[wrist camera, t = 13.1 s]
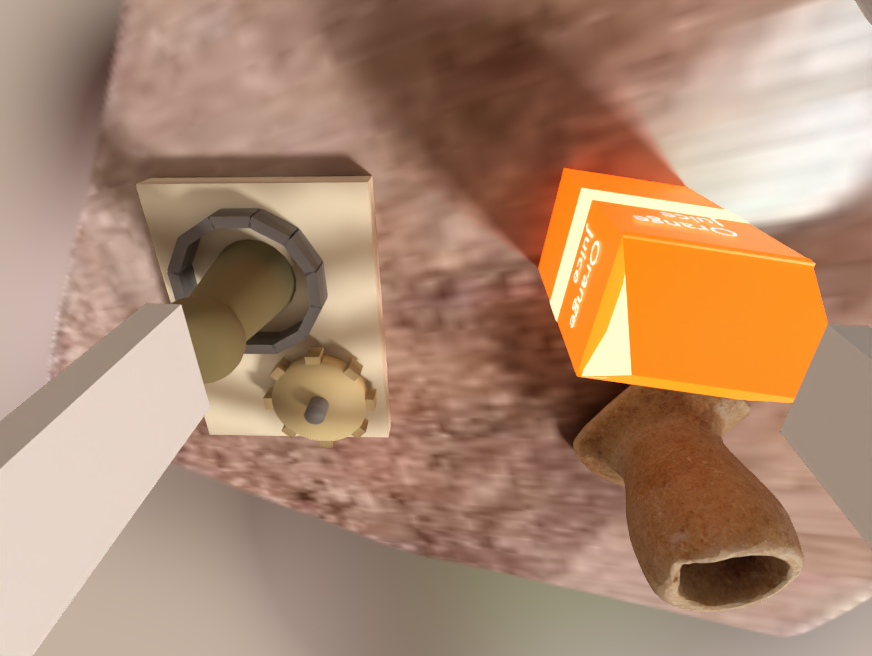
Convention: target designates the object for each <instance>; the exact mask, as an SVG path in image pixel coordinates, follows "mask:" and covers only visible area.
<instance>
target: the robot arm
mask: <svg viewBox="0 0 872 656" xmlns="http://www.w3.org/2000/svg"><path fill="white" fill-rule="evenodd" d="M855 1H856V3H857V5H858V6H859V8H860V9H861V11H862V13H863V14H864V16H865V17H866V19H867V20H868V21H869V22H870V23H871V24H872V0H855ZM209 408H210V405H209V402H208V398H207V394H206V391H205V387H204V384H203V380H202V377H201V373H200V369H199V366H198V362H197V359H196V355H195V352H194V348H193V344H192V341H191V337H190V334H189V330H188V327H187V323H186V320H185V316H184V312H183V309H182V305H181V304H154V303H146V304H145V305H143V306H142V307H141V308H140V309H139V310H137V311H136V312H135V313H134V314H132V315H131V316H130V317H129V318H127V319H126V320H125V321H124V322H122V323H121V324H120V325H119V326H117V327H116V328H115V329H114V330H113V331H111V332H110V333H109V334H108V335H106V336H105V337H104V338H103V339H101V340H100V341H99V342H98V343H96V344H95V345H94V346H93V347H92V348H90V349H89V350H88V351H87V352H85V353H84V354H83V355H82V356H80V357H79V358H78V359H77V360H75V361H74V362H73V363H72V364H70V365H69V366H68V367H67V368H66V369H64V370H63V371H62V372H61V373H59V374H58V375H57V376H56V377H54V378H53V379H52V380H51V381H49V382H48V383H47V384H46V385H45V386H43V387H42V388H41V389H40V390H38V391H37V392H36V393H35V394H33V395H32V396H31V397H30V398H29V399H27V400H26V401H25V402H23V403H22V404H21V405H20V406H19V407H17V408H16V409H15V410H14V411H12V412H11V413H10V414H9V415H7V416H6V417H5V418H4V419H2V420H1V421H0V656H33V654H34V653H35V652H36V650H37V649H38V647H39V646H40V645H41V643H42V642H43V640H44V639H45V638H46V636H47V635H48V633H49V632H50V631H51V629H52V628H53V626H54V625H55V623H56V622H57V621H58V619H59V618H60V617H61V615H62V614H63V612H64V611H65V610H66V608H67V607H68V605H69V604H70V603H71V601H72V600H73V598H74V597H75V595H76V594H77V593H78V591H79V590H80V589H81V587H82V586H83V584H84V583H85V582H86V580H87V579H88V577H89V576H90V574H91V573H92V572H93V570H94V569H95V568H96V566H97V565H98V563H99V562H100V561H101V559H102V558H103V556H104V555H105V553H106V552H107V551H108V549H109V548H110V547H111V545H112V544H113V542H114V541H115V540H116V538H117V537H118V535H119V534H120V533H121V531H122V530H123V528H124V527H125V526H126V524H127V523H128V521H129V520H130V519H131V517H132V516H133V514H134V513H135V512H136V510H137V509H138V507H139V506H140V505H141V503H142V502H143V500H144V499H145V498H146V496H147V495H148V493H149V492H150V491H151V489H152V488H153V486H154V485H155V483H156V482H157V481H158V479H159V478H160V477H161V475H162V474H163V473H164V471H165V470H166V468H167V467H168V466H169V464H170V463H171V461H172V460H173V459H174V457H175V456H176V454H177V453H178V452H179V450H180V449H181V447H182V446H183V445H184V443H185V442H186V440H187V439H188V438H189V436H190V435H191V433H192V432H193V431H194V429H195V428H196V426H197V425H198V424H199V422H200V421H201V419H202V418H203V417H204V415H205V414H206V412H207V411H208V410H209ZM780 432H781V433H782V435H783V436H784V437H785V439H786V440H787V441H788V442H789V444H790V445H791V446H792V447H793V449H794V450H795V451H796V453H797V454H798V455H799V456H800V458H801V459H802V460H803V462H804V463H805V464H806V465H807V467H808V468H809V469H810V471H811V472H812V473H813V474H814V476H815V477H816V478H817V480H818V481H819V482H820V483H821V485H822V486H823V487H824V489H825V490H826V491H827V492H828V494H829V495H830V496H831V498H832V499H833V500H834V501H835V503H836V504H837V505H838V507H839V508H840V509H841V510H842V512H843V513H844V514H845V516H846V517H847V518H848V519H849V521H850V522H851V523H852V524H853V526H854V527H855V528H856V530H857V531H858V532H859V533H860V535H861V536H862V537H863V539H864V540H865V541H866V542H867V544H868V545H869V546H870V548H871V549H872V328H871V327H869V326H867V325H834V324H827V326H826V329H825V331H824V333H823V336H822V338H821V340H820V342H819V345H818V347H817V349H816V351H815V354H814V356H813V358H812V360H811V363H810V365H809V367H808V369H807V372H806V374H805V376H804V378H803V381H802V383H801V385H800V388H799V390H798V392H797V394H796V397H795V399H794V401H793V403H792V406H791V408H790V410H789V412H788V415H787V417H786V419H785V421H784V424H783V426H782V428H781V430H780Z"/></svg>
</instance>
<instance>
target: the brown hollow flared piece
mask: <svg viewBox="0 0 872 656" xmlns="http://www.w3.org/2000/svg"><path fill="white" fill-rule="evenodd" d="M751 411H752V410H751V406H750V405H749V404H748V403H747V401H746V400H739V399H732V398H725V397H718V396H711V395H704V394H697V393H690V392H683V391H675V390H668V389H661V388H654V387H647V386H640V385H633V384H631V385H630V386H629V387H628V388H626V389H625V390H624V391H623V392H622V393H620V394H619V395H618V396H617V397H616V398H615V399H613V400H612V401H611V402H610V403H609V404H608V405H607V406H606V407H604V408H603V409H602V410H601V411H600V412H599V413H598V414H597V415H596V416H595V417H594V418H593V419H592V420H591V421H589V422H588V423H587V424H586V425H585V426H584V427H583V428H582V430H581V431H580V432H579V434H578V435H577V437H576V438H575V440H574V442H573V449H574V452H575V454H576V456H577V457H578V458H579V459H580V461H581V462H582V463H583V464H584V465H585V466H586V467H587V468H588V469H590V470H591V471H592V472H593V473H595V474H596V475H598V476H600V477H601V478H603V479H605V480H608V481H610V482H613V483H616V484H620V485H624V486H625V489H626V518H627V524H628V530H629V535H630V540H631V543H632V546H633V549H634V552H635V554H636V557H637V559H638V562H639V564H640V566H641V569H642V571H643V573H644V575H645V577H646V579H647V581H648V583H649V585H650V586H651V588H652V590H653V591H654V593H655V594H657V595H658V596H659V597H660V598H661V599H662V600H664V601H665V602H667V603H669V604H671V605H673V606H675V607H678V608H682V609H686V610H691V611H700V612H715V611H725V610H733V609H738V608H743V607H747V606H750V605H753V604H755V603H758V602H761V601H763V600H765V599H767V598H769V597H771V596H773V595H775V594H776V593H778V592H780V591H782V590H783V589H785V588H786V587H787V586H788V585H789V584H791V583H792V582H793V581H794V580H795V579H796V578H797V577H798V575H799V574H800V572H801V570H802V566H803V562H804V555H803V552H802V549H801V545H800V542H799V539H798V536H797V534H796V531H795V529H794V527H793V524H792V522H791V520H790V517H789V515H788V513H787V512H786V510H785V509H784V507H783V506H782V504H781V503H780V502H779V500H778V499H777V498H776V497H775V496H774V495H773V494H772V493H771V492H770V491H769V490H768V489H767V488H766V486H765V485H764V484H763V483H762V482H761V481H759V480H758V478H757V477H756V476H755V475H754V474H753V473H752V472H751V471H749V470H748V469H747V468H746V467H745V466H744V465H743V464H742V463H741V462H740V461H739V460H738V459H737V458H736V457H735V456H734V455H733V454H732V453H731V452H730V451H729V449H728V448H727V447H726V446H725V445H724V443H723V440H722V436H723V435H724V434H725V433H726V432H727V431H728V430H730V429H731V428H732V427H733V426H735V425H736V424H737V423H739V422H740V421H741V420H743V419H744V418H745V417H747V416H748V415H749V414H750V413H751Z"/></svg>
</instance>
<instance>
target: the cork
mask: <svg viewBox="0 0 872 656" xmlns="http://www.w3.org/2000/svg"><path fill="white" fill-rule="evenodd" d="M295 291H296V278H295V274H294V271H293V268H292V266H291V265H290V263H289V262H288V260H287V259H286V257H285V256H284V255H283V254H281V253H280V252H279V251H278V250H277V249H276V248H274V247H272V246H270V245H268V244H266V243H264V242H262V241H256V240H249V239H247V240H241V241H235V242H234V243H232V244H230V245H228V246H226V247H225V248H224V249H223V251H222V252H221V253H220V254H219V255H218V257H217V258H216V260H215V261H214V262H213V264H212V265H211V267H210V268H209V269H208V271H207V272H206V273H205V275H204V276H203V278H202V279H201V280H200V282H199V283H198V285H197V286H196V287H195V289H194V290H193V292H192V293H191V294H190V296H189V297H185V298H181V299H178V300H176V301H174V302H172V303H170V304H181V305H182V309H183V312H184V316H185V320H186V323H187V327H188V330H189V334H190V337H191V341H192V344H193V348H194V352H195V355H196V359H197V362H198V366H199V369H200V373H201V377H202V380H203V384H206V383H214V382H216V381H218V380H221V379H223V378H225V377H226V376H228V375H229V374H230V373H231V372H232V371H233V370H234V369H235V368H236V367H237V366H238V365H239V363H240V362H241V360H242V357H243V354H244V352H245V348H246V341H247V340H249V339H250V338H251V337H252V336H253V335H254V334H256V333H257V332H258V331H259V330H260V329H261V328H262V327H264V326H265V325H266V324H267V323H268V322H269V321H270V320H272V319H273V318H274V317H275V316H276V315H277V314H278V313H280V312H281V311H282V310H283V309H284V308H285V307H286V306H287V305H288V304H289V303H290V302H291V301H292V299H293V296H294V294H295Z"/></svg>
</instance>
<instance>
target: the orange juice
mask: <svg viewBox="0 0 872 656" xmlns="http://www.w3.org/2000/svg"><path fill="white" fill-rule="evenodd" d="M814 266H815V263H814V262H812V261H811V259H807V258H805V257H804V256H802V255H800V254H799V253H797V252H795V251H794V250H792V249H790V248H789V247H787V246H785V245H784V244H782V243H780V242H779V241H777V240H775V239H773V238H772V237H770V236H768V235H767V234H765V233H763V232H762V231H760V230H758V229H757V228H755V227H753V226H752V225H750V224H749V222H747V221H745V220H743V219H742V218H740V217H738V216H737V215H735V214H733V213H732V212H730V211H728V210H725V209H723V208H721V207H720V206H718V205H716V204H715V203H713V202H711V201H710V200H708V199H706V198H705V197H703V196H701V195H700V194H698V193H696V192H695V191H693V190H691V189H689V188H688V187H684V186H678V185H671V184H665V183H658V182H652V181H645V180H639V179H632V178H626V177H619V176H613V175H606V174H600V173H593V172H587V171H580V170H574V169H567V168H564V169H563V173H562V177H561V181H560V185H559V189H558V193H557V197H556V201H555V205H554V209H553V213H552V216H551V220H550V224H549V228H548V232H547V236H546V240H545V244H544V248H543V252H542V256H541V260H540V264H539V268H538V269H539V272H540V274H541V277H542V280H543V283H544V286H545V288H546V291H547V294H548V297H549V300H550V305H551V308H552V311H553V314H554V316H555V319H556V321H557V322H558V325H559V328H560V331H561V333H562V336H563V339H564V342H565V345H566V347H567V350H568V353H569V356H570V359H571V361H572V364H573V367H574V370H575V373H576V375H577V377H584V378H591V379H598V380H605V381H612V382H619V383H626V384H633V385H640V386H647V387H654V388H661V389H668V390H675V391H683V392H690V393H697V394H704V395H711V396H718V397H725V398H732V399H739V400H755V401H771V402H788V403H793V401H794V399H795V397H796V394H797V392H798V390H799V388H800V385H801V383H802V381H803V378H804V376H805V374H806V372H807V369H808V367H809V365H810V363H811V360H812V358H813V356H814V354H815V351H816V349H817V347H818V345H819V342H820V340H821V338H822V336H823V333H824V331H825V329H826V326H827V324H828V322H827V318H826V314H825V310H824V307H823V303H822V299H821V295H820V291H819V288H818V284H817V280H816V276H815V272H814V269H813V268H814Z"/></svg>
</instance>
